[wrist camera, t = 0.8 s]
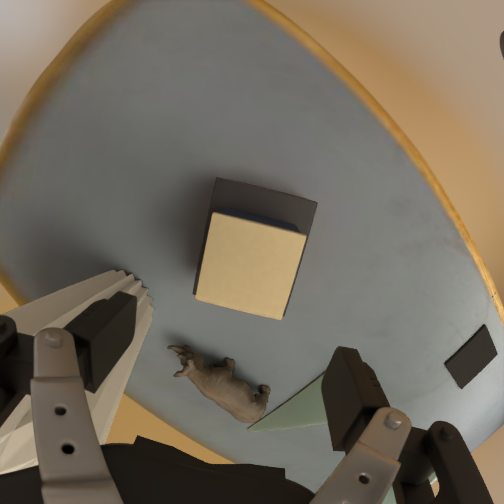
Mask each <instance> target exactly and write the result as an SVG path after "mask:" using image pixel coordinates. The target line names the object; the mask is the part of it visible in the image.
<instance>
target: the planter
mask: <svg viewBox="0 0 504 504" xmlns="http://www.w3.org/2000/svg"><path fill="white" fill-rule="evenodd" d="M324 374H325V373H324ZM324 374H323V375H322V376H320V377H319V378H318V379H317V380H315V381H314V382H313V383H311V384H310V385H309V386H308V387H306V388H305V389H304V390H302V391H301V392H300V393H298V394H297V395H296V396H294V397H293V398H291V399H290V400H289V401H287V402H286V403H285V404H283V405H282V406H280V407H279V408H278V409H276V410H275V411H273V412H272V413H270V414H269V415H267V416H266V417H265V418H263V419H262V420H260V421H259V422H257V423H256V424H254V425H253V426H251V427H250V428H249V429H248V431H267V430H279V429H290V428H299V427H307V426H314V425H321V424H327V423H328V421H327V417H326V412H325V407H324V402H323V397H322V393H321V383H322V379H323V376H324Z"/></svg>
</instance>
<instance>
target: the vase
mask: <svg viewBox="0 0 504 504" xmlns="http://www.w3.org/2000/svg"><path fill="white" fill-rule="evenodd" d="M148 290H149V289H148V288H143V287H142V280H136V281H135V280H134V276H133V273H132V274H130V275H129V276H126V274H125V272H124V270H121V271H119V272H116V271H115V270H114V269H113V270H110V271H108V272H105V273H102V274H100V275H97V276H94V277H92V278H89V279H86V280H84V281H81V282H79V283H76V284H74V285H71V286H69V287H66V288H64V289H61V290H59V291H56V292H54V293H51V294H49V295H46V296H44V297H42V298H39V299H37V300H34V301H32V302H29V303H27V304H25V305H22V306H20V307H18V308H15V309H13V310H11V311H8V312H6V313H4V314H1V315H6V316H9V317H11V318H12V319H13V320H14V321H15V323H16V327H17V332H19V333H23V334H27V335H32V336H35V335H36V333H37V332H39V331H40V330H42V329H45V328H49V327H57V328H63V327H64V326H66V325H67V324H68V323H69V322H70V321H71V320H73V319H74V318H75V317H76V316H77V315H79V314H81V312H82V311H83V310H85V309H86V308H87V307H88V306H89V305H91V304H92V303H93V302H95V301H98V300H101V299H104V298H105V299H107V300H108V299H109V298H111V297H112V296H113V295H114V294H115V293H116V292H118V291H122V292H125V293H128V294H131V295H134V296H136V297H137V313H136V325H135V334H134V338H133V341H132V343H131V344H130V346H129V347H128V349H127V350H126V351H125V353H124V354H123V355H122V357H121V358H120V359H119V361H118V362H117V364H116V365H115V366H114V368H113V369H112V370H111V372H110V373H109V375H108V376H107V377H106V379H105V380H104V382H103V383H102V384H101V386H100V387H99V389H98V390H97V391H96V393H95V394H93V393H91V392H89V391H86V390H85V393H86V398H87V402H88V406H89V410H90V413H91V417H92V421H93V424H94V428H95V431H96V434H97V438H98V441H99V444H100V445H102V444H105V443H106V440H107V436H108V433H109V431H110V428H111V425H112V422H113V419H114V417H115V414H116V411H117V408H118V406H119V403H120V400H121V397H122V395H123V392H124V389H125V387H126V384H127V382H128V379H129V376H130V374H131V371H132V369H133V366H134V364H135V361H136V359H137V356H138V354H139V351H140V349H141V346H142V344H143V341H144V339H145V336H146V334H147V332H148V329H149V327H150V324H151V322H152V319H153V317H152V314H153V312H154V308H153V307H152V306H151V305H150V304H151V302H152V300H153V298H151V297H149V296H147V292H148ZM36 465H39V464H38V459H37V452H36V446H35V438H34V430H33V420H32V408H31V396H30V395H26V396H25V397H24V398H23V399H22V401H21V402H20V403H19V404H18V406H17V407H16V408H15V409H14V411H13V412H12V413H11V415H10V416H9V417H8V418H7V420H6V421H5V422H4V424H3V425H2V426H1V428H0V474H4V473H9V472H13V471H17V470H21V469H25V468H28V467H32V466H36Z"/></svg>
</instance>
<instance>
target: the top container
mask: <svg viewBox="0 0 504 504" xmlns="http://www.w3.org/2000/svg"><path fill="white" fill-rule="evenodd" d="M305 240H306V235H305V234H301V233H300V231H299V229H298V227H297V225H295V224H291V223H287V222H283V221H279V220H275V219H271V218H267V217H263V216H259V215H255V214H251V213H247V212H243V211H239V210H235V209H230V208H226V207H225V208H224V209H222V210H221V211H220V212H219V213H217V212H214V213H213V214H212V218H211V223H210V227H209V232H208V237H207V241H206V246H205V251H204V256H203V261H202V266H201V271H200V276H199V282H198V287H197V292H196V297H195V299H196V300H200V301H204V302H207V303H211V304H215V305H219V306H223V307H227V308H231V309H235V310H239V311H243V312H247V313H252V314H256V315H260V316H265V317H269V318H273V319H278V320H281V319H282V316H283V313H284V310H285V307H286V304H287V301H288V297H289V294H290V291H291V288H292V284H293V281H294V278H295V274H296V271H297V268H298V264H299V261H300V258H301V254H302V251H303V247H304V244H305Z"/></svg>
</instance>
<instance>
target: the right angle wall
mask: <svg viewBox="0 0 504 504" xmlns="http://www.w3.org/2000/svg"><path fill="white" fill-rule="evenodd" d="M436 480H437V477H436V474H435V472H434V473H433V474H432V475H431V476H430V477H429V481H430V484H431V485H432V484H433V483H434V482H435V481H436ZM382 504H396V500H395V495H394V491H393V487H392V485H391V487H390V489H389V491H388V493H387V495H386V497H385V499H384V501H383V503H382Z"/></svg>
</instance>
